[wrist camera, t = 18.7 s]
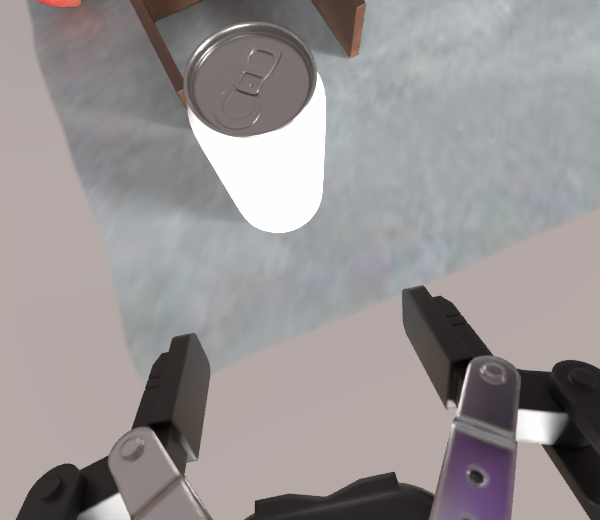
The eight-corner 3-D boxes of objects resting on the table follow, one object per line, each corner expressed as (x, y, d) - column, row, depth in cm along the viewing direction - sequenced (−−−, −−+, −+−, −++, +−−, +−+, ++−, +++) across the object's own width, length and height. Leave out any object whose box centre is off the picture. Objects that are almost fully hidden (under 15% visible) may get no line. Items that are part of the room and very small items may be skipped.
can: (223, 216, 26) (145, 116, 14) (257, 144, 27) (212, -4, 15) (303, 247, 25) (291, 168, 13) (334, 170, 26) (350, 36, 14)
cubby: (289, -47, 31) (285, -111, 27) (358, 54, 28) (366, 3, 24) (141, 19, 30) (112, -35, 26) (199, 131, 27) (176, 92, 23)
